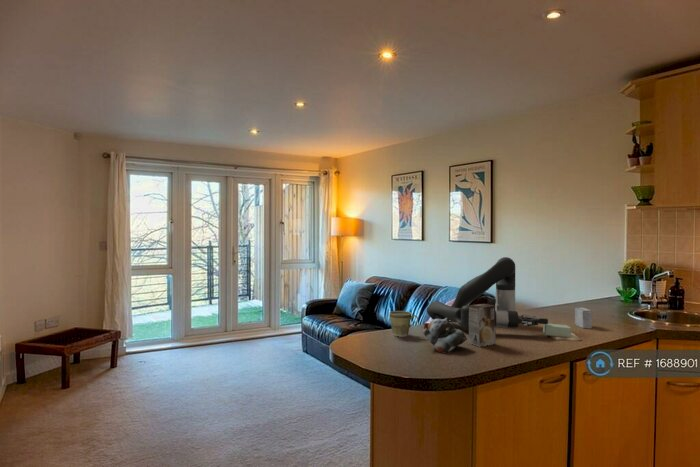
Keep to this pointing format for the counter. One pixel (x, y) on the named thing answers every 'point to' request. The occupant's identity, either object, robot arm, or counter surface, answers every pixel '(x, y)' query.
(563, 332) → the sage block
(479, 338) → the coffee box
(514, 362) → the counter surface
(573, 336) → the beech board
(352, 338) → the counter surface
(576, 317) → the medicine box
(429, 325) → the grey stuffed animal
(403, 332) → the ceramic cup
